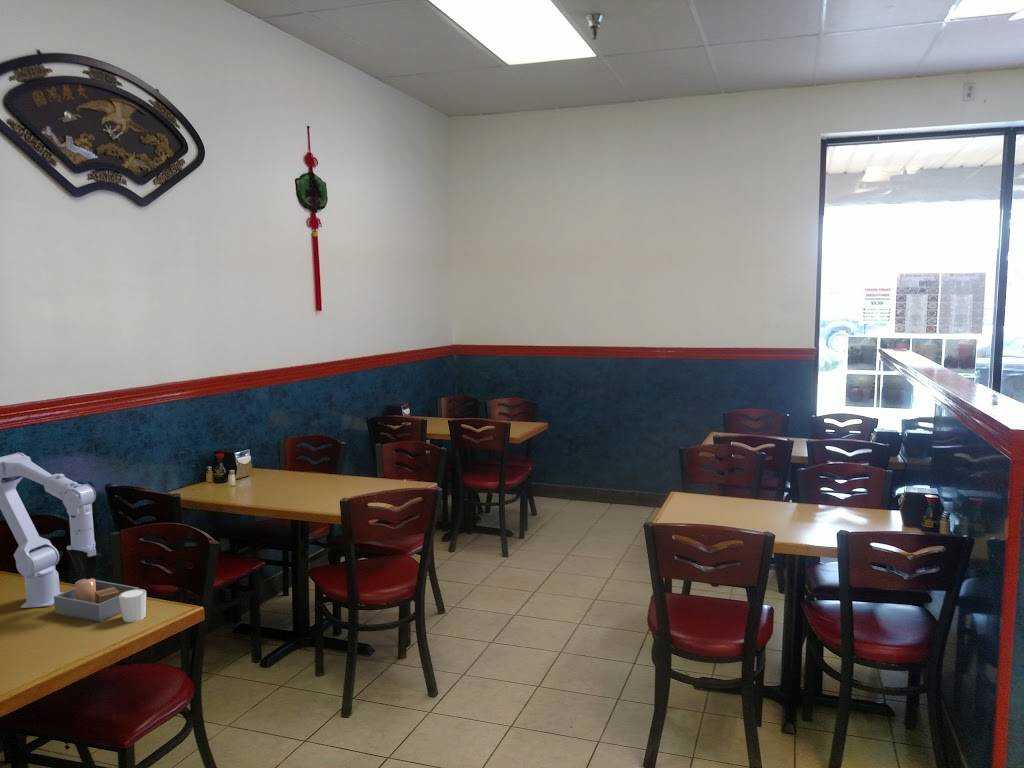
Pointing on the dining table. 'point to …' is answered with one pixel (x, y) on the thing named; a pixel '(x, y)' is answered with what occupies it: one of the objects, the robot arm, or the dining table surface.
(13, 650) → the dining table surface
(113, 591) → the walnut cube
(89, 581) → the terracotta cylinder
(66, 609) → the tote
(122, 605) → the white cylinder
